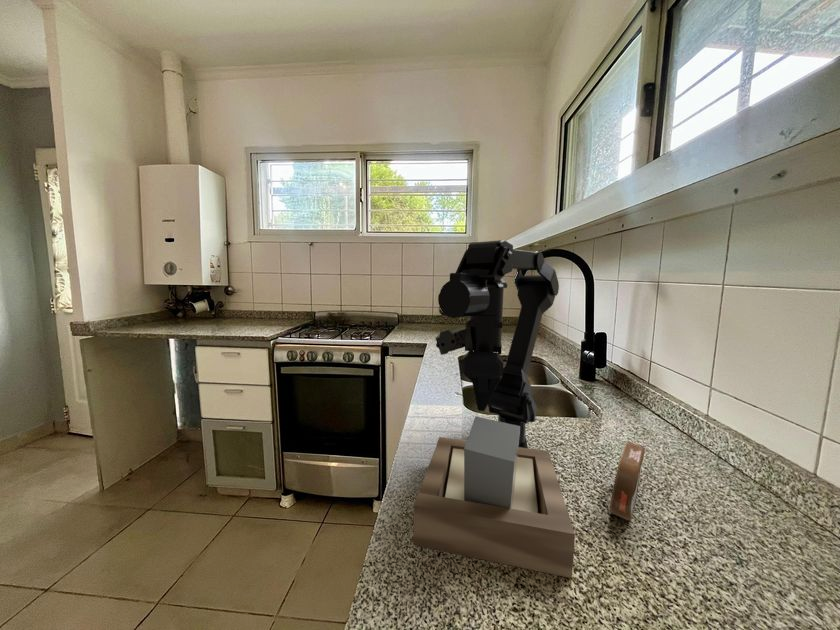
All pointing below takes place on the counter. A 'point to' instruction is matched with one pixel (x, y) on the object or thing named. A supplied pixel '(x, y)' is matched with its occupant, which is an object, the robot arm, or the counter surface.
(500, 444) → the grey rectangular block
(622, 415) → the counter surface
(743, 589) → the counter surface
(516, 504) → the trapdoor plate
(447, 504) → the frame
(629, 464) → the tin
